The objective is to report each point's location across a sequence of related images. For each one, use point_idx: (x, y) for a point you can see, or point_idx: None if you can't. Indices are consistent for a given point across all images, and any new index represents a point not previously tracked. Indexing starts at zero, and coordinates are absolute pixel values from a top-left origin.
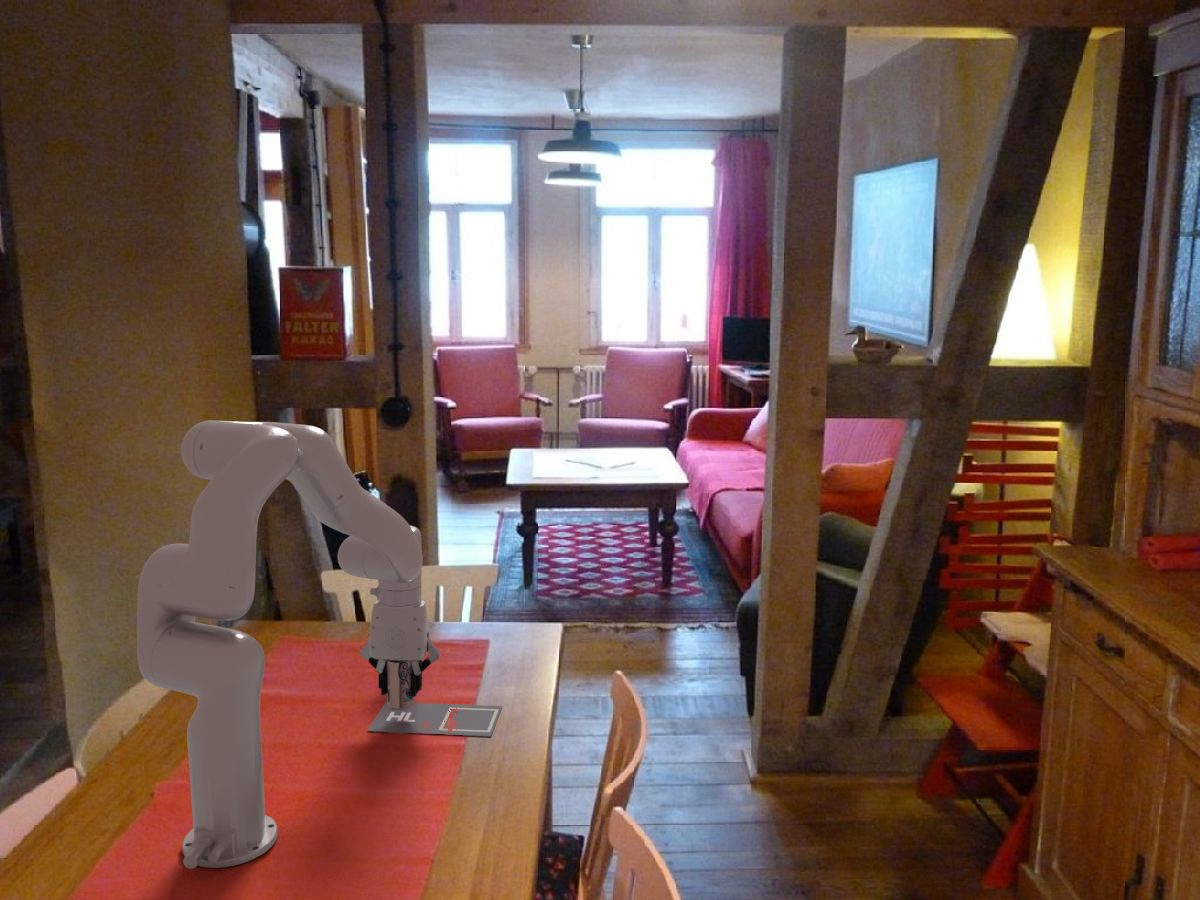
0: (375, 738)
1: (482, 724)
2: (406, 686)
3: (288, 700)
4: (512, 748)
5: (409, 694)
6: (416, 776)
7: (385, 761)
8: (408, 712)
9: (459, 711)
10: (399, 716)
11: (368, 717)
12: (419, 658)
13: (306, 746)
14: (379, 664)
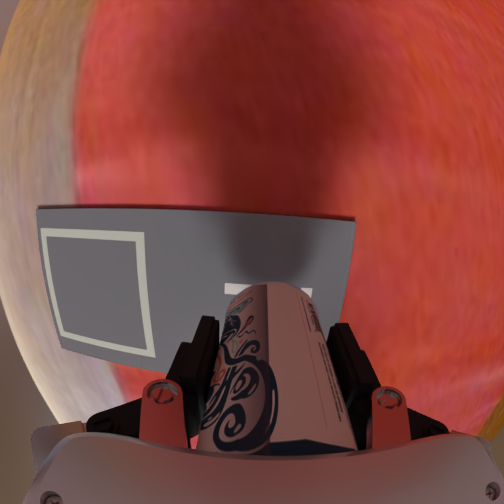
0: (324, 179)
1: (60, 266)
2: (234, 341)
3: (486, 352)
4: (7, 166)
5: (227, 325)
6: (168, 4)
7: (260, 48)
8: None
9: (126, 336)
10: None
11: (361, 309)
12: (78, 437)
13: (466, 150)
14: (398, 424)
